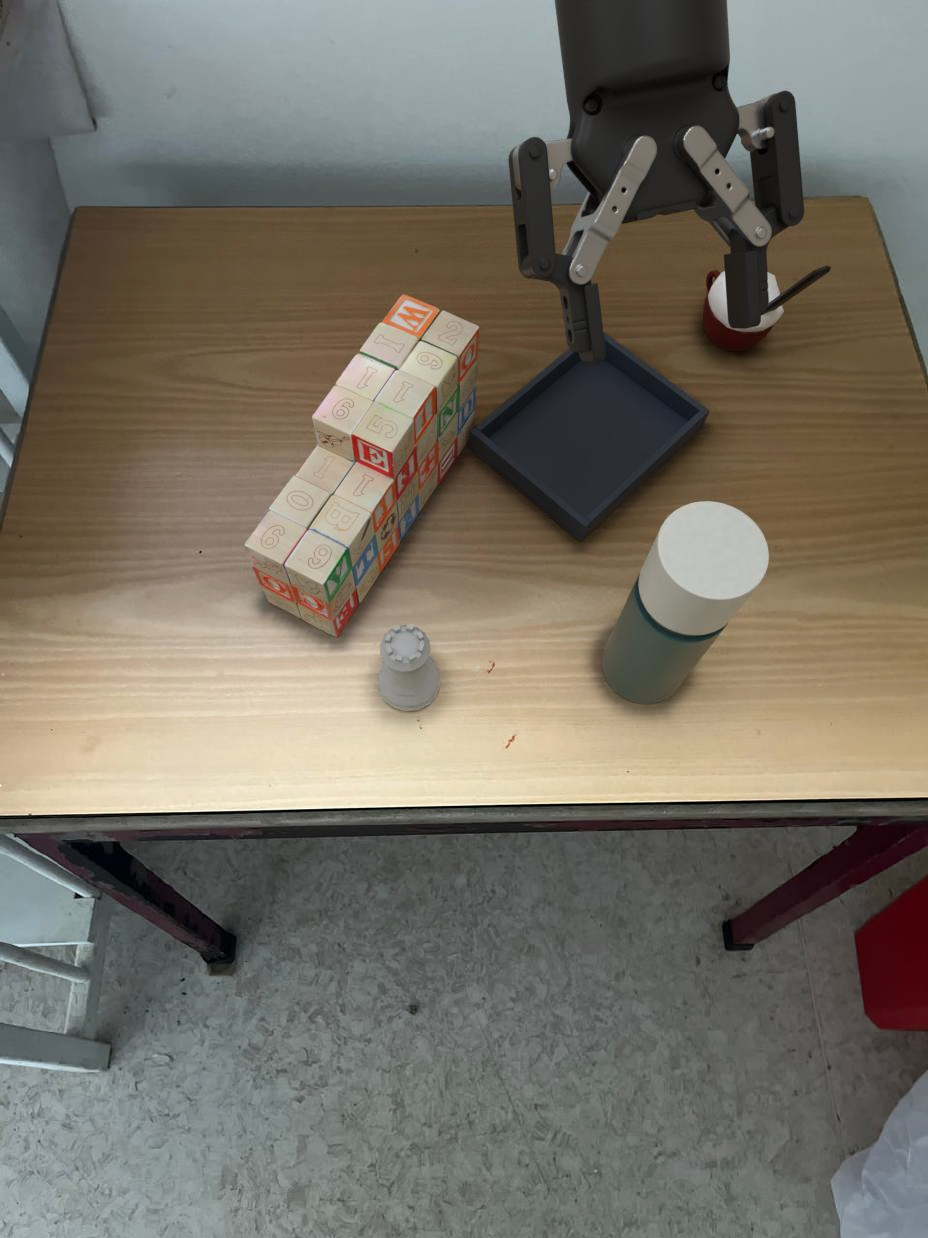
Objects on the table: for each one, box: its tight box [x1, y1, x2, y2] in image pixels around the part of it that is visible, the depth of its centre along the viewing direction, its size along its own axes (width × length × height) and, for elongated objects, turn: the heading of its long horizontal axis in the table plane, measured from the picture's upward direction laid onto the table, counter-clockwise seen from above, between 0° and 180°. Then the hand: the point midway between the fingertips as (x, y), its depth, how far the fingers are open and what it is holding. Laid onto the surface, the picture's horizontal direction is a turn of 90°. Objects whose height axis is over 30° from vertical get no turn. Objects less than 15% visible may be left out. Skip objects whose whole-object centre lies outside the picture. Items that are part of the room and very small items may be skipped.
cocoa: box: [701, 264, 832, 352], centre depth 69 cm, size 10×6×12 cm, turn 5°
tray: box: [468, 331, 711, 543], centre depth 69 cm, size 15×12×2 cm
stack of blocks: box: [243, 294, 480, 638], centre depth 61 cm, size 21×6×12 cm, turn 152°
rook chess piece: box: [377, 623, 441, 712], centre depth 57 cm, size 4×4×8 cm
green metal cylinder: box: [600, 572, 730, 705], centre depth 56 cm, size 6×6×13 cm
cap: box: [638, 500, 770, 635], centre depth 48 cm, size 6×6×5 cm
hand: (670, 343), depth 44 cm, fingers open, 8 cm apart
